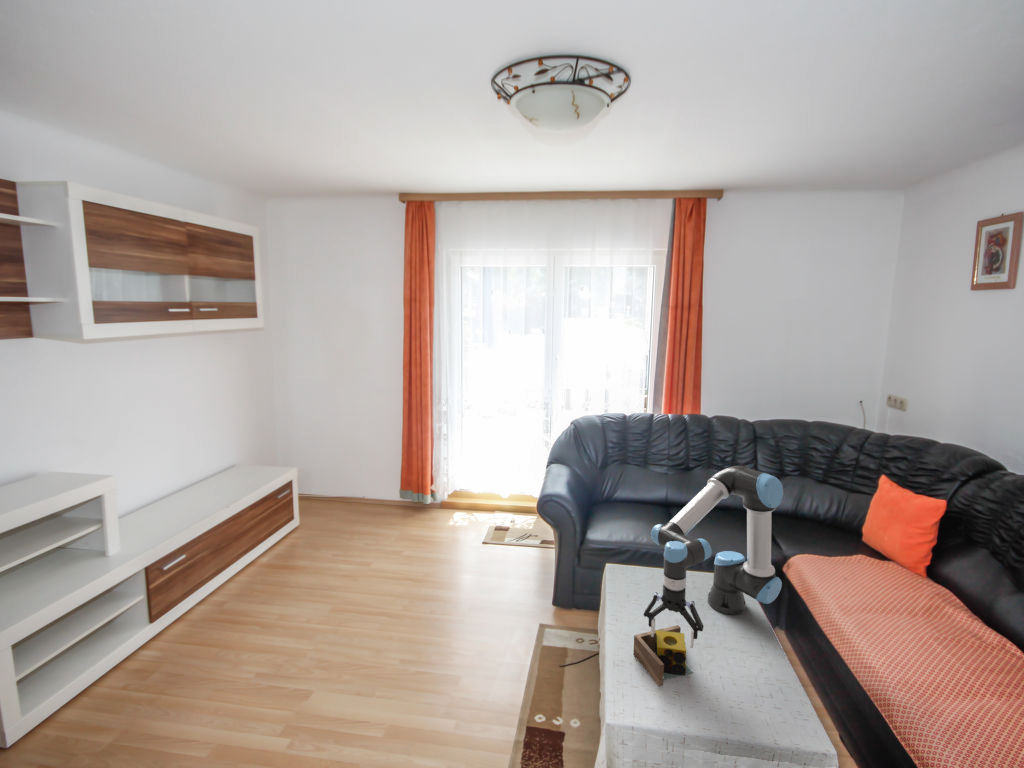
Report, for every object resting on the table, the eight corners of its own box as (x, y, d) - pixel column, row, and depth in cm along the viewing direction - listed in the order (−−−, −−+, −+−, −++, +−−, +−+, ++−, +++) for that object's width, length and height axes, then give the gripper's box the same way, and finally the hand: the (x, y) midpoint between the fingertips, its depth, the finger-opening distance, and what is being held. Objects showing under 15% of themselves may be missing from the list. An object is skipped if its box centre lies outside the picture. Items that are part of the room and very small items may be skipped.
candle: (683, 657, 186) (684, 632, 185) (686, 677, 177) (687, 651, 175) (654, 653, 189) (655, 628, 187) (655, 672, 179) (657, 646, 177)
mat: (673, 652, 189) (673, 651, 189) (692, 672, 179) (692, 671, 179) (648, 658, 186) (648, 657, 186) (665, 679, 176) (665, 678, 176)
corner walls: (677, 644, 194) (678, 625, 193) (705, 673, 178) (707, 653, 177) (633, 654, 188) (634, 635, 187) (659, 686, 173) (660, 665, 171)
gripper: (636, 582, 180) (634, 636, 184) (711, 600, 169) (708, 657, 172) (641, 572, 187) (639, 624, 190) (713, 588, 175) (710, 643, 179)
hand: (672, 640), depth 181 cm, fingers open, 13 cm apart
